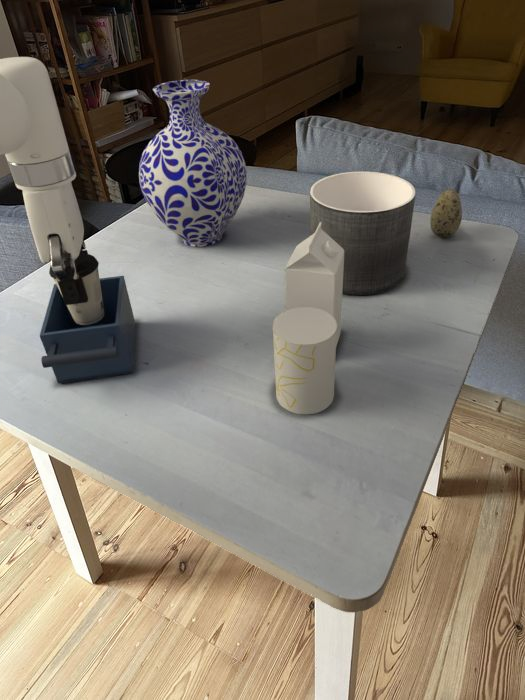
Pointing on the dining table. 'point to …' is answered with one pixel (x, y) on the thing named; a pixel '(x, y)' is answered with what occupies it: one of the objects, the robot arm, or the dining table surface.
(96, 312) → the coffee cup
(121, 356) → the blue drawer with handle
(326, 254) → the milk carton
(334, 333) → the cup
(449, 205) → the decorative egg
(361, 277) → the planter
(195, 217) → the vase
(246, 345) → the dining table surface
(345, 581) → the dining table surface
